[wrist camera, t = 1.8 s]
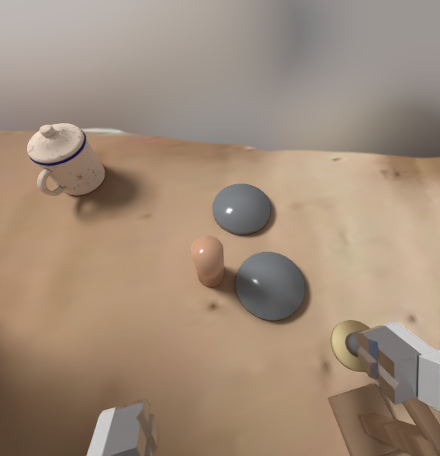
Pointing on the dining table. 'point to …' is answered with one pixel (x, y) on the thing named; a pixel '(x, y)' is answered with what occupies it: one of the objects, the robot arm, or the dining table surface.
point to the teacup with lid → (65, 160)
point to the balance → (377, 410)
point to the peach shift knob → (208, 260)
